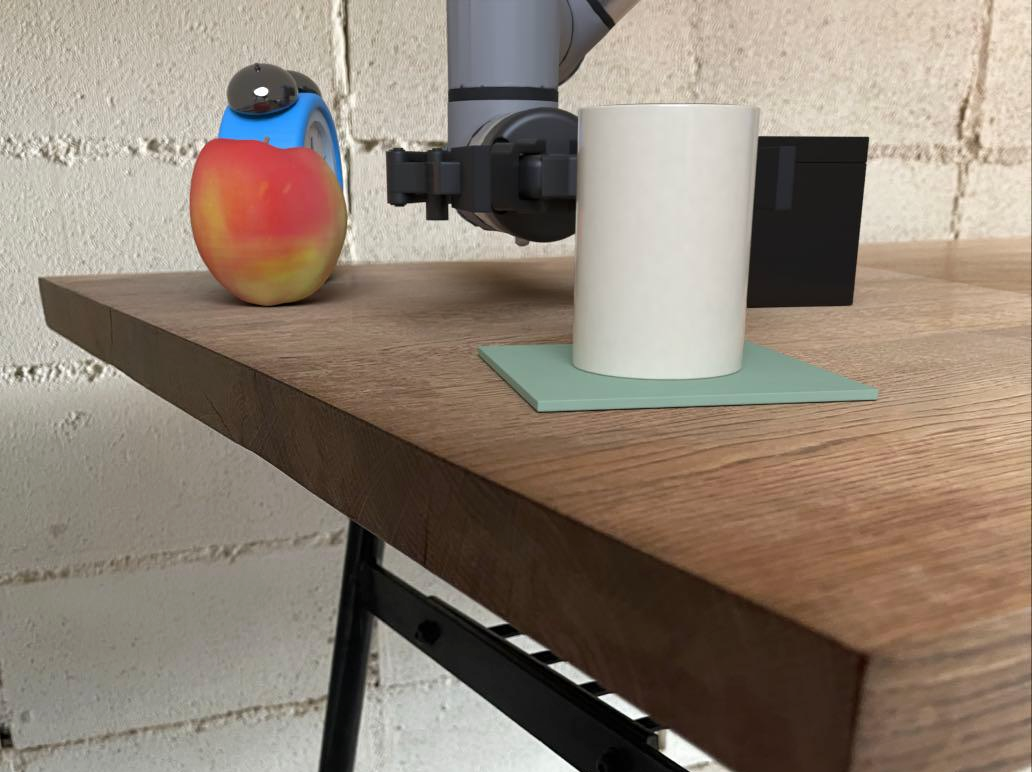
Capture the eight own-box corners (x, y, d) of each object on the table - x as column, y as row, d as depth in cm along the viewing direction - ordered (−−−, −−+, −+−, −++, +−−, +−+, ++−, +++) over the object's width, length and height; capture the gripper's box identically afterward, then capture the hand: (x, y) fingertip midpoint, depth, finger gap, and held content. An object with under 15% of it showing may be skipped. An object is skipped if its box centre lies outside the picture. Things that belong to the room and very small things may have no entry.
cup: (706, 350, 51) (721, 111, 48) (769, 377, 44) (791, 103, 41) (555, 354, 50) (559, 110, 46) (596, 383, 43) (605, 101, 40)
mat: (744, 347, 54) (745, 339, 54) (878, 400, 42) (879, 389, 42) (477, 354, 52) (477, 346, 52) (537, 412, 40) (537, 401, 40)
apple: (275, 316, 65) (264, 133, 62) (162, 306, 70) (146, 135, 67) (379, 301, 73) (374, 136, 70) (270, 292, 78) (261, 138, 75)
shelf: (764, 283, 84) (774, 141, 81) (853, 305, 71) (869, 136, 68) (634, 285, 82) (640, 140, 79) (701, 308, 69) (711, 135, 66)
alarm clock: (304, 291, 78) (292, 57, 73) (218, 290, 79) (201, 58, 74) (348, 274, 90) (340, 73, 86) (273, 273, 91) (261, 74, 86)
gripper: (723, 237, 72) (894, 263, 52) (328, 241, 67) (350, 272, 48) (731, 111, 69) (913, 88, 49) (322, 107, 65) (343, 81, 45)
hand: (638, 178), depth 48 cm, fingers open, 13 cm apart
